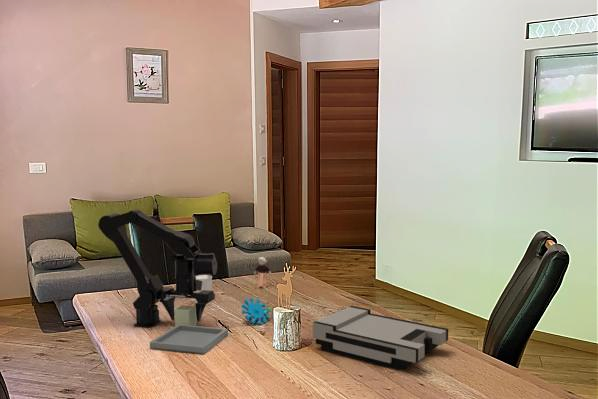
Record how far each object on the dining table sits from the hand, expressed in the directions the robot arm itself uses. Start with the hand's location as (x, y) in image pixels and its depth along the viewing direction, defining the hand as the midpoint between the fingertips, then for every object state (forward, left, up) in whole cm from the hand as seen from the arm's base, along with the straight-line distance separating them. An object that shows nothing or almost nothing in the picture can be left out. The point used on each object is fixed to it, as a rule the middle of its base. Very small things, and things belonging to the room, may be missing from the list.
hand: (185, 320), depth 189 cm
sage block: (0, 0, -2) cm, 2 cm away
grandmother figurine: (+7, +53, -2) cm, 53 cm away
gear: (+21, +10, -2) cm, 23 cm away
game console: (+64, -5, -2) cm, 64 cm away
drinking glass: (-6, +25, -2) cm, 26 cm away
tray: (+8, -14, -2) cm, 16 cm away
